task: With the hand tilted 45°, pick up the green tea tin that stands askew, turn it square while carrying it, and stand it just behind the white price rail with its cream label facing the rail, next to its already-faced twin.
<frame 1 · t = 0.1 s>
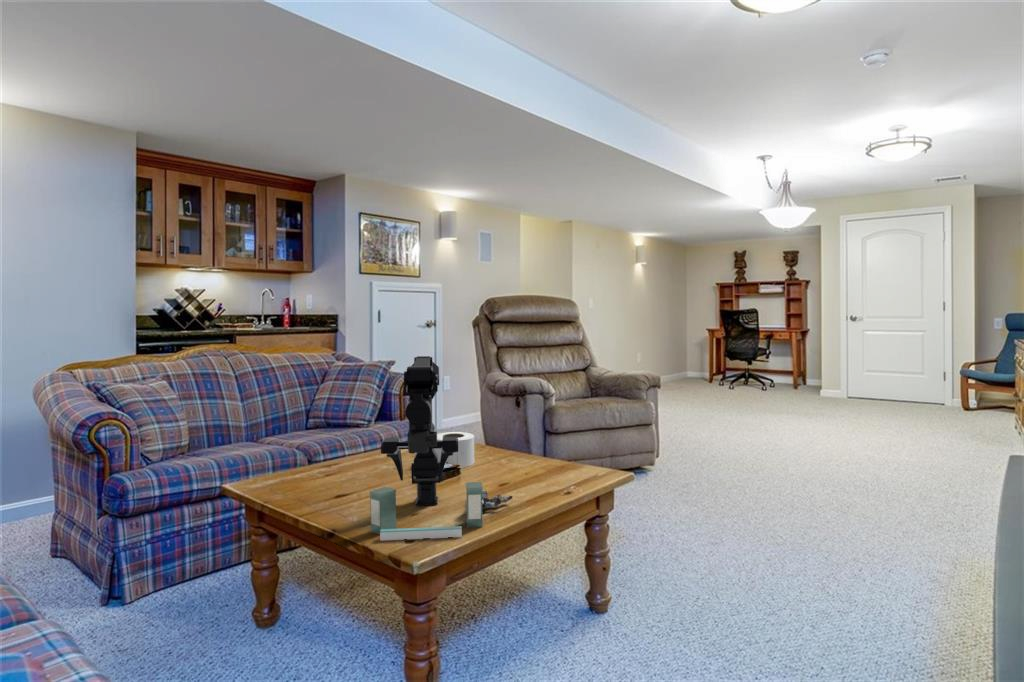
hand: (420, 479, 144), 15 cm above the table, tool pointing down, fingers open, 9 cm apart
object: (453, 464, 218), on the table
twin tin: (474, 524, 154), on the table
tea tin: (383, 530, 149), on the table
toy: (484, 510, 166), on the table
price rail: (421, 537, 144), on the table
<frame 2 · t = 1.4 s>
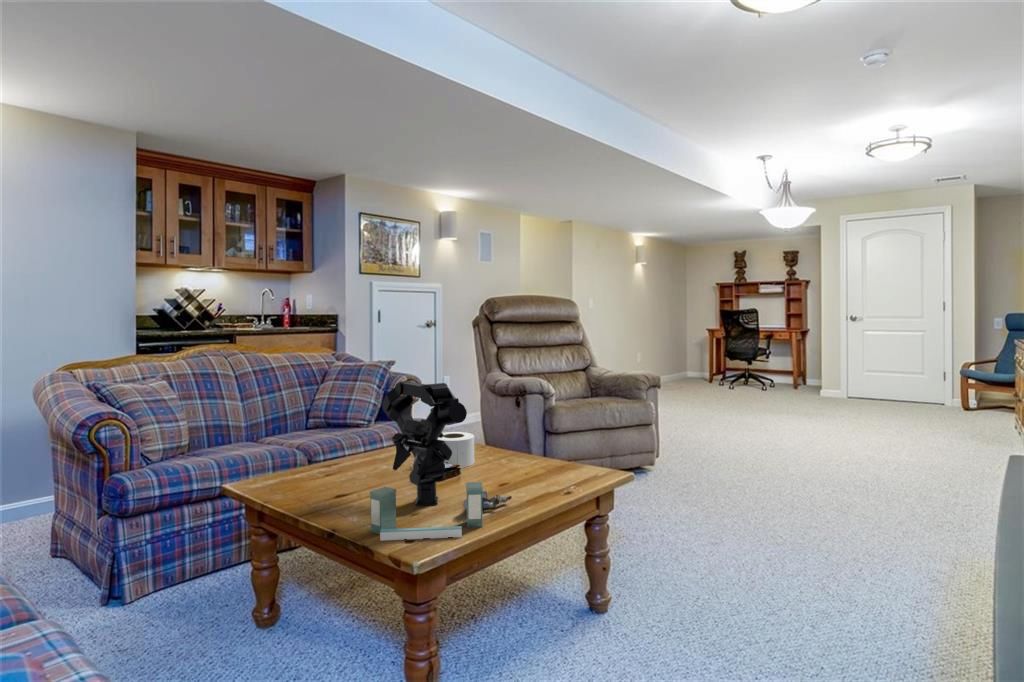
hand: (405, 472, 155), 13 cm above the table, tool tilted 45°, fingers open, 9 cm apart
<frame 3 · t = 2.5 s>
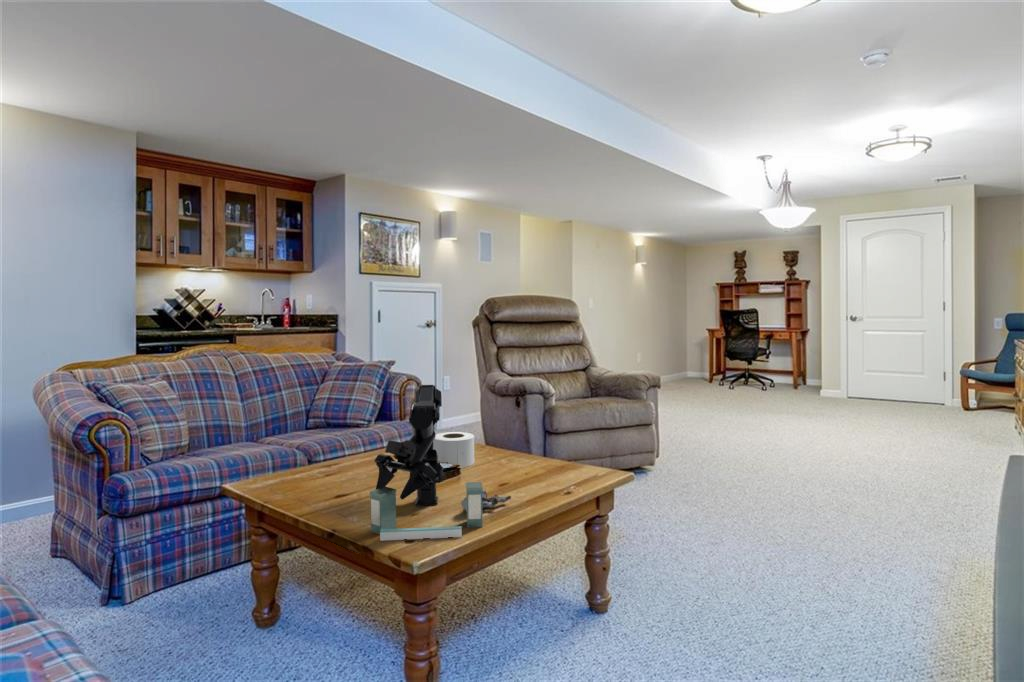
hand: (388, 495, 150), 9 cm above the table, tool tilted 45°, fingers open, 9 cm apart
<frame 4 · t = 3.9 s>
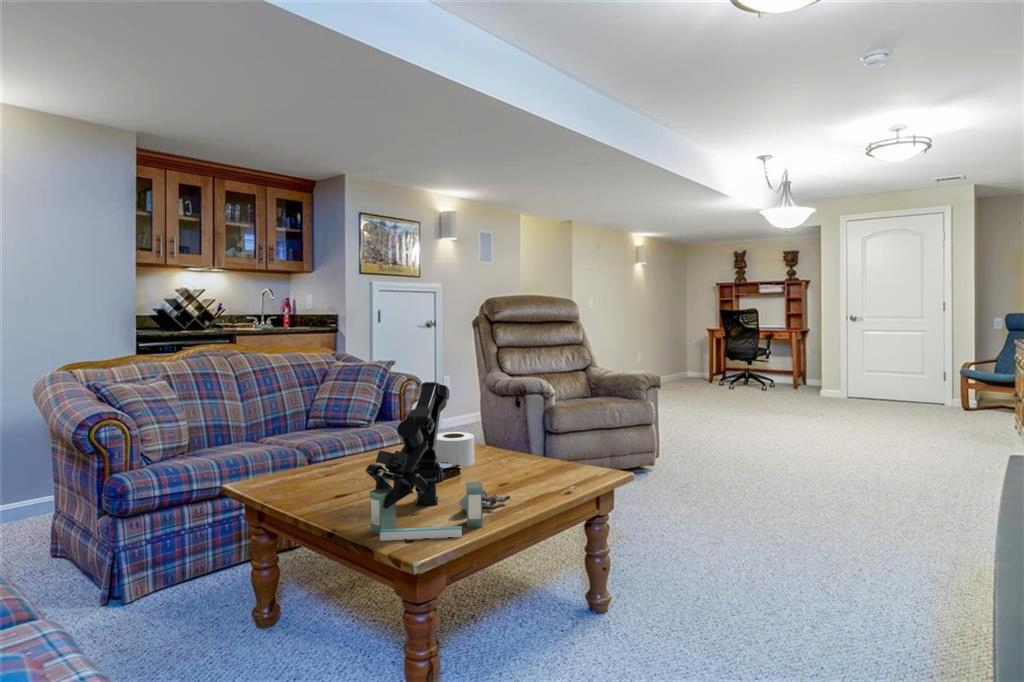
hand: (378, 506, 148), 7 cm above the table, tool tilted 45°, fingers closed on tea tin, 4 cm apart
tea tin: (383, 530, 149), on the table, touching gripper
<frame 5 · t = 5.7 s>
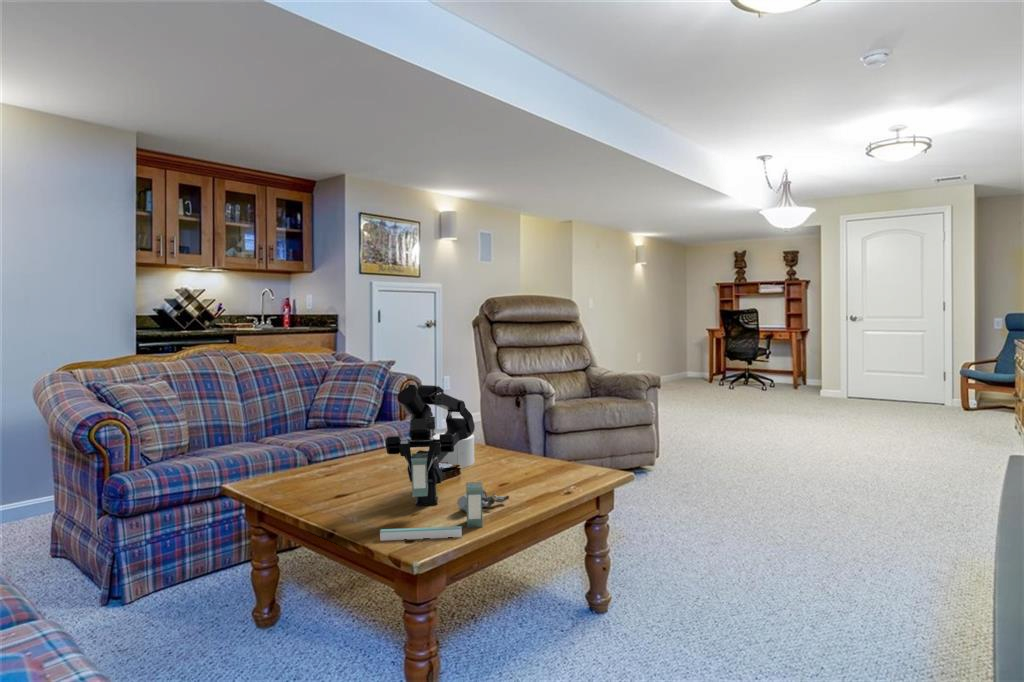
hand: (419, 471, 157), 13 cm above the table, tool tilted 45°, fingers closed on tea tin, 4 cm apart
tea tin: (420, 493, 158), point 7 cm above the table, touching gripper
when the fingers open (8 cm above the table, at t = 7.9 s): tea tin drops 1 cm, on the table.
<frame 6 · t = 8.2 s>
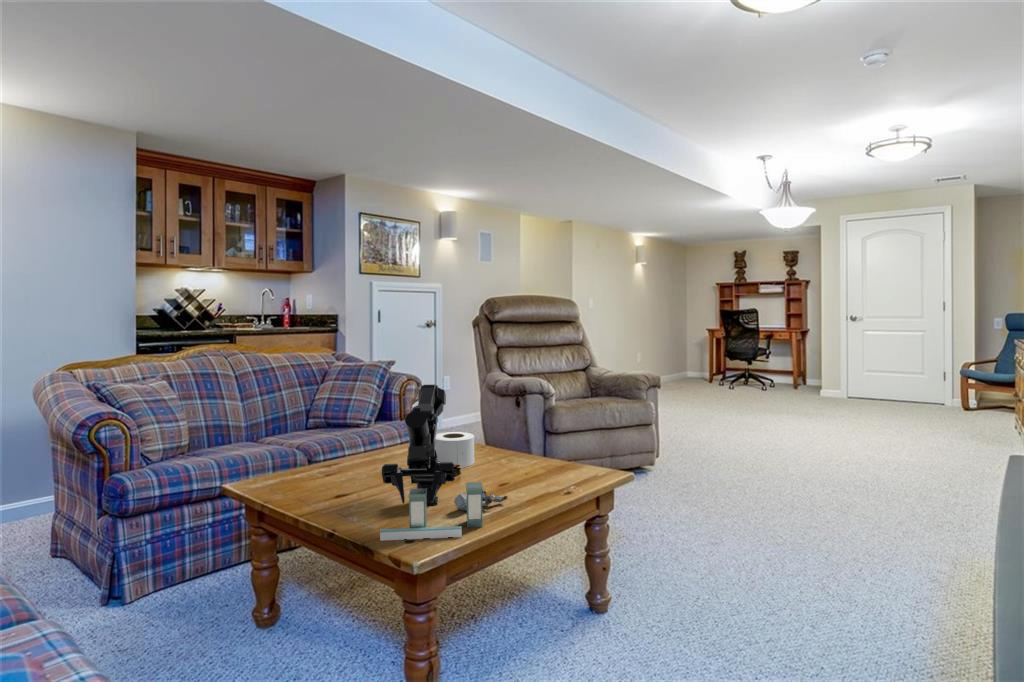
hand: (417, 502, 147), 8 cm above the table, tool tilted 45°, fingers open, 7 cm apart
tea tin: (418, 531, 148), on the table
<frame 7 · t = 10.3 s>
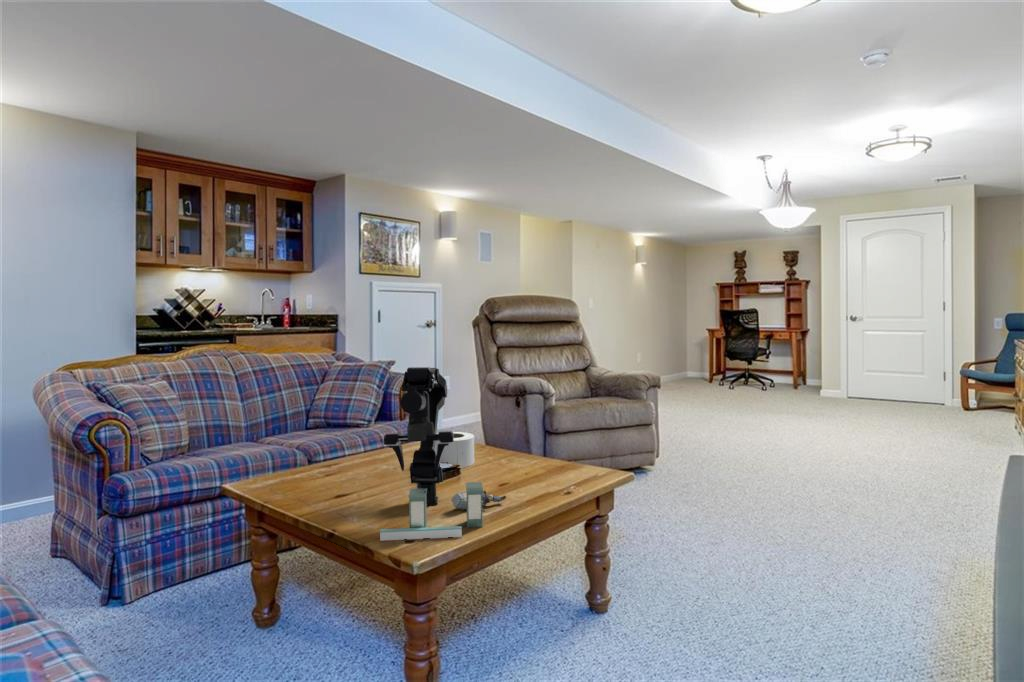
hand: (419, 469, 159), 13 cm above the table, tool pointing down, fingers open, 9 cm apart
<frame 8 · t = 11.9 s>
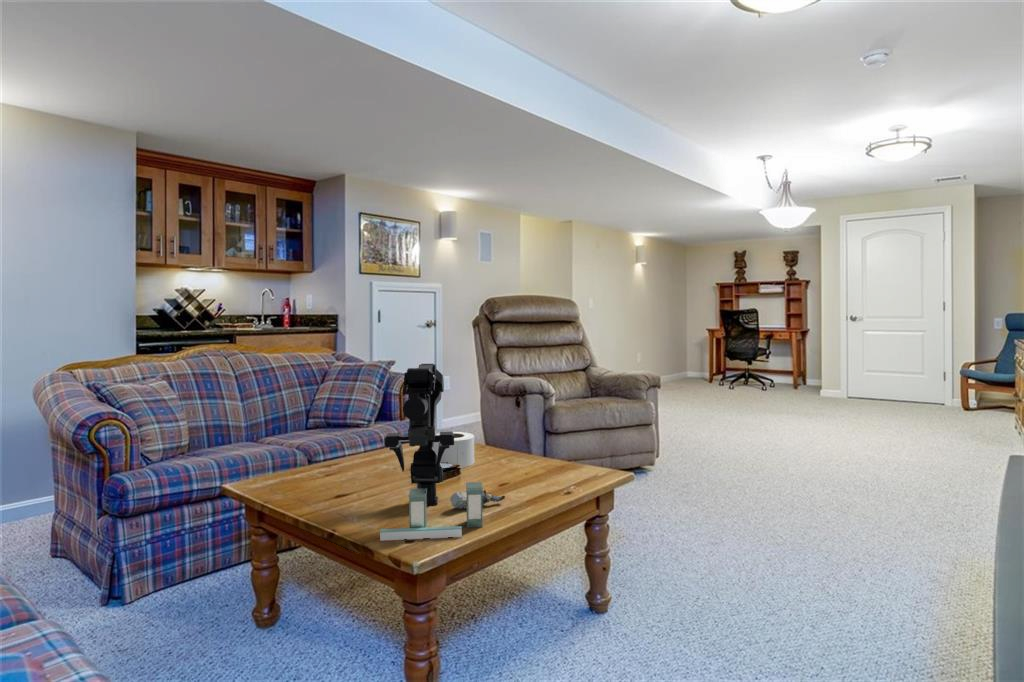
hand: (420, 470, 159), 13 cm above the table, tool pointing down, fingers open, 9 cm apart
at the end: tea tin 0.1 cm from the target spot, on the table; tea tin tilted 0°; tea tin moved 9.2 cm from its start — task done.
